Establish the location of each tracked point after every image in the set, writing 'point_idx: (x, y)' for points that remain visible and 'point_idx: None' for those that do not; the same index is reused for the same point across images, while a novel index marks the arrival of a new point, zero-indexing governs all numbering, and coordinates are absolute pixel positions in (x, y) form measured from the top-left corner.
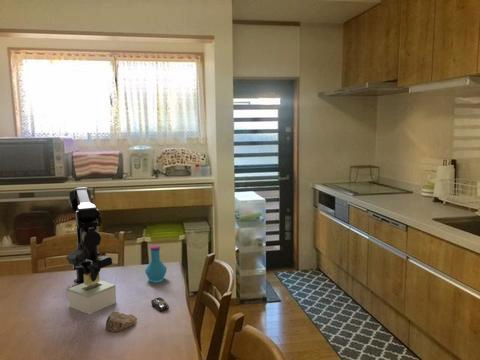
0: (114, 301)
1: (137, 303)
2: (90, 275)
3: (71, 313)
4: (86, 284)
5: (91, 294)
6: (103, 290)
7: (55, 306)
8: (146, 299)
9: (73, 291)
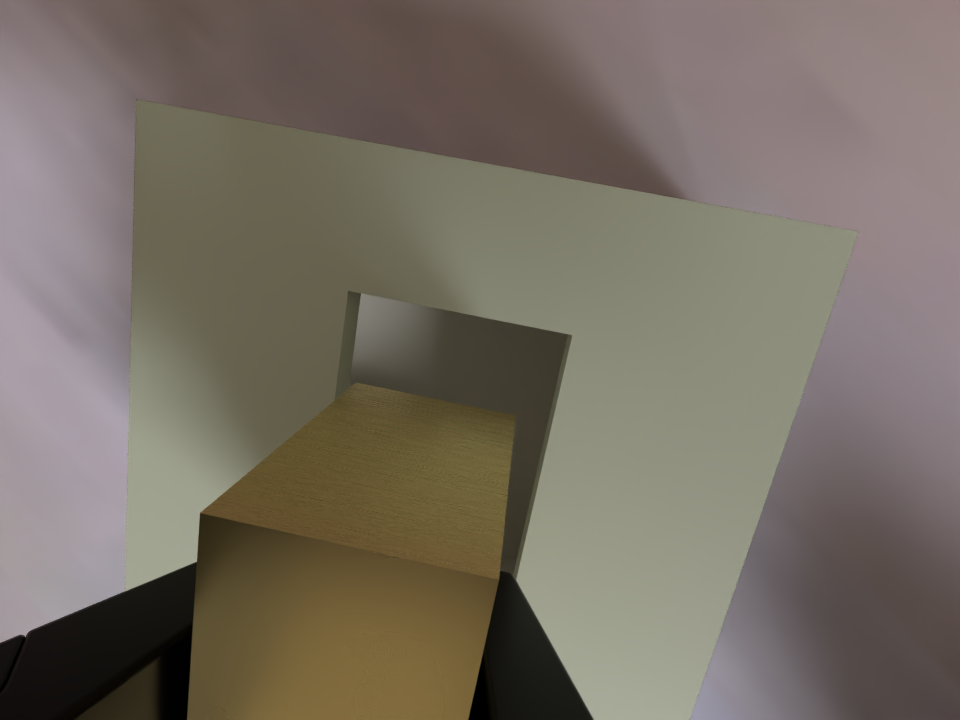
0: None
1: (65, 560)
2: (219, 605)
3: (534, 86)
4: (417, 401)
5: (137, 192)
6: (139, 449)
7: (914, 159)
8: None
9: (644, 195)
